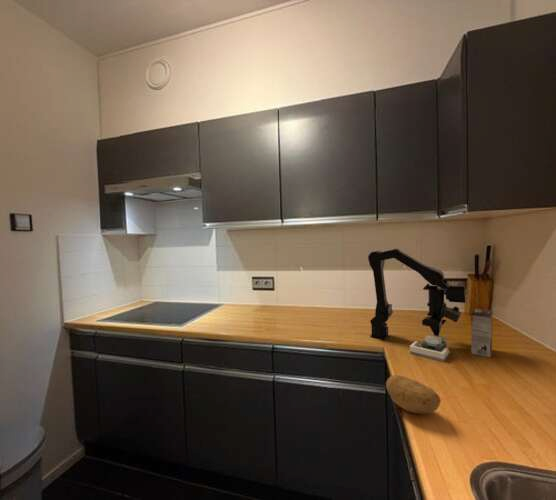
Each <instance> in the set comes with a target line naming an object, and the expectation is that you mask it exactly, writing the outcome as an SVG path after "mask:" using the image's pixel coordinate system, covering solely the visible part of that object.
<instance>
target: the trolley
mask: <svg viewBox="0 0 556 500" xmlns="http://www.w3.org/2000/svg"><path fill="white" fill-rule="evenodd" d="M420 344H421V346H422V347H423V348H425V349H426V348H428V347H429V346H431V347H435V350H436V351H438V352H441V351H442V350H443V349H445V347H447V337H444V336H440V335H439V336H435V335H434V334H429V333H427V334H426V336H425V337H424V340H422V341H421V342H420ZM447 348H448V347H447Z"/></svg>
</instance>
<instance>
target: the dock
mask: <svg viewBox="0 0 556 500" xmlns="http://www.w3.org/2000/svg"><path fill="white" fill-rule="evenodd" d="M451 353H452V351H451V350H449V347H445V349H443V350H442V351H441V352H438V351H436V350H435V346H429V347H428V348H426V349H425V348H423V347H422V346H421V343H419V341H418V340H415V341H414V342H412V344H411V345H409V354H411V355H415V356H419V357H422V358H427V359H431V360H436V361H438V362H439V361H440V362H443V363H444V362H445V361H446V360H447V358H448V357H449V356H450V355H451Z"/></svg>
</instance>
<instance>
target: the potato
mask: <svg viewBox="0 0 556 500" xmlns="http://www.w3.org/2000/svg"><path fill="white" fill-rule="evenodd" d="M385 385H386V386H385V387H386V390H387V393H388V394H389V397H390V398H391V400H392V402H393V403H395V405H397V406H398V407H401V408H402V409H404V410H405V411H407V412H409V413H411V414H412V413H413V414H418V415H419V414H420V415H422V414H423V415H426V414H431V413H432V412H434V411H436V410H438V408H439V406H440V404H441V401H442V400H441V398H440V395H439V394H438V393H436V391H435V390H434V389H433V388H432V387H429V386H427V385H425V384H423V383H421V382H419V381H418V380H415V379H412V378H410V377H407V376H404V375H401V374H393V375H391V376H389V378H388V379H387V380H386V382H385Z"/></svg>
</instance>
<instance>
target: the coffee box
mask: <svg viewBox="0 0 556 500" xmlns="http://www.w3.org/2000/svg"><path fill="white" fill-rule="evenodd" d="M470 314H471V315H470V316H471V319H470V320H471V325H470V326H471V332H470V333H471V334H470V335H471V338H470V341H471V343H470V344H471V345H470V346H471V347H470V349H471V350H470V351H471V352H470V353H471V354H472V355H476V356H482V357H486V358H491V357H492V353H493V352H492V351H493V310H492V309H491V310H490V309H487V308H486V309H484V308H479V307H478V308H477V307H473V309H472V311H471V313H470Z"/></svg>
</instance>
